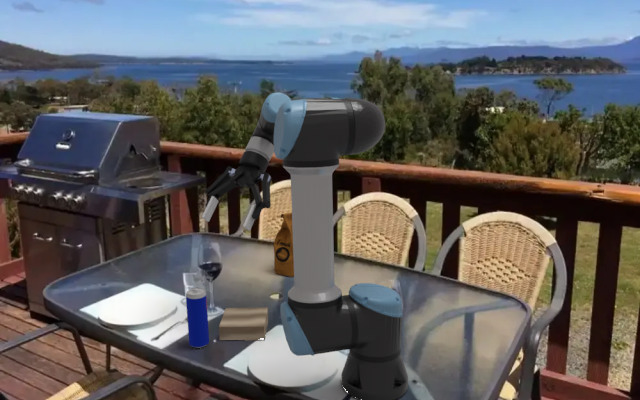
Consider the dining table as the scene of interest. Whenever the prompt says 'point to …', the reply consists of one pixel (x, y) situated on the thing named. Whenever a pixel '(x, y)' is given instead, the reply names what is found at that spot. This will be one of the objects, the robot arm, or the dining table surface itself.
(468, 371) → the dining table surface
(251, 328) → the oak block
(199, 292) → the beverage can
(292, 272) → the coffee package
